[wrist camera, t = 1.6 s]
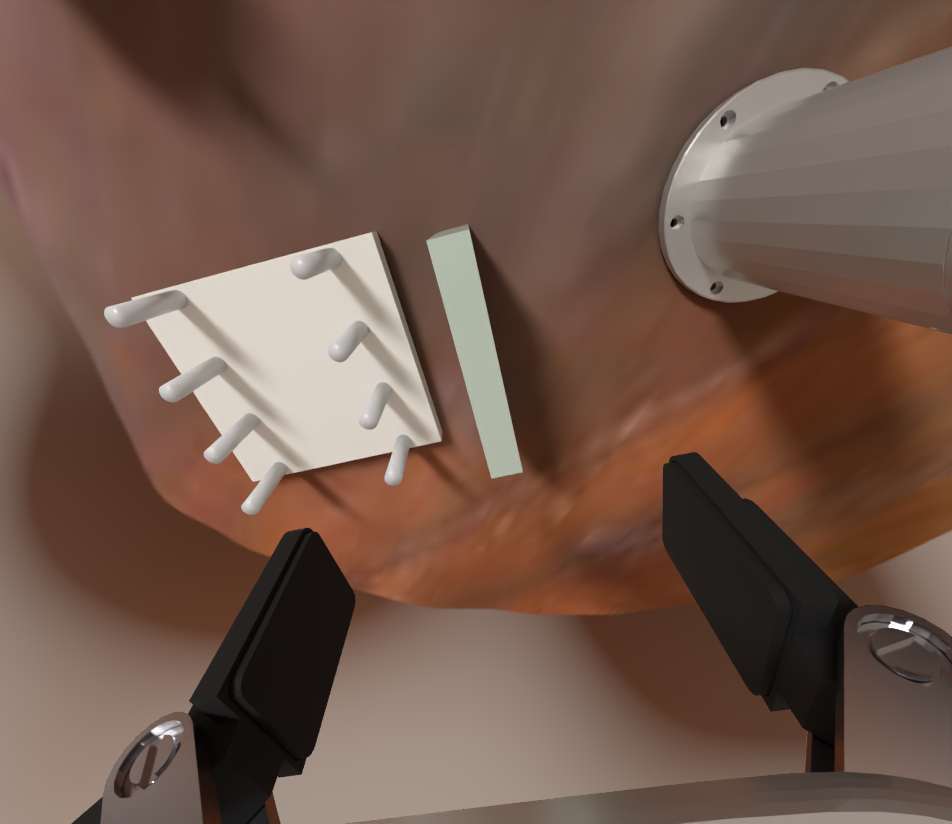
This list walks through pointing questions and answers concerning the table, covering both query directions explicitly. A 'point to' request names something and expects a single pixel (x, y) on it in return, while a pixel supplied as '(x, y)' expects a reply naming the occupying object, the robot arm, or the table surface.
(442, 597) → the table surface
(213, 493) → the table surface
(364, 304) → the dish rack
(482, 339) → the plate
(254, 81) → the table surface
